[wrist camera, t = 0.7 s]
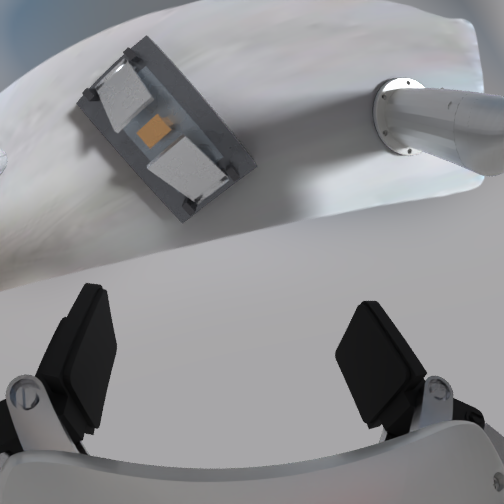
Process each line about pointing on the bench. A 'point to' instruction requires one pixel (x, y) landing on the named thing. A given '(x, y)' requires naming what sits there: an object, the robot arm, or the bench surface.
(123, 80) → the strap
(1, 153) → the photo printer
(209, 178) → the strap
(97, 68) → the bench surface
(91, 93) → the tray
